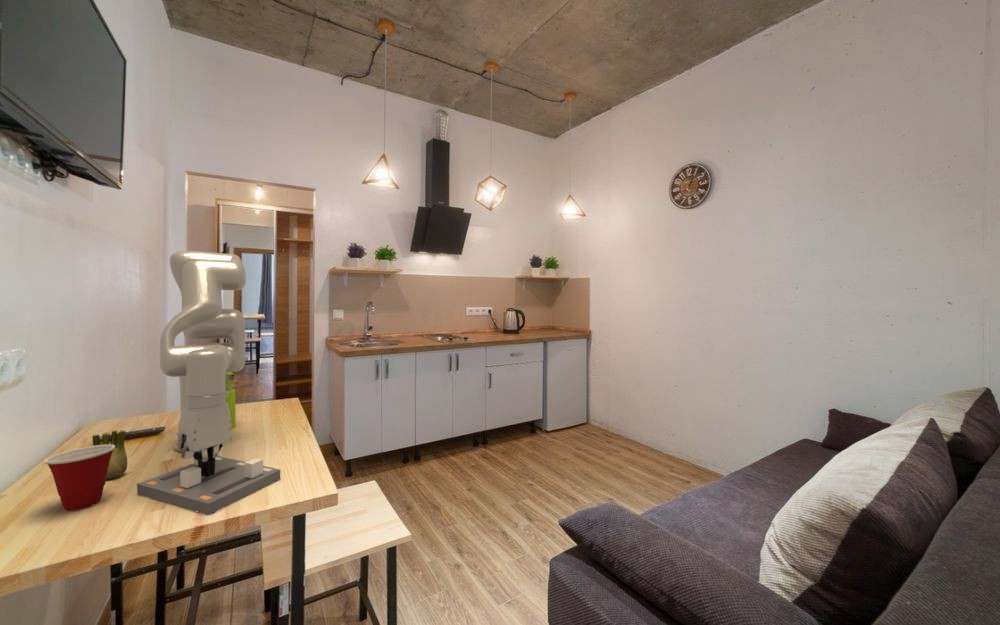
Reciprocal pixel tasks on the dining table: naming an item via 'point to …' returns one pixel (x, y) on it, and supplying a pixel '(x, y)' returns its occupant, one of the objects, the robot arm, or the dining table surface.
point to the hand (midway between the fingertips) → (206, 474)
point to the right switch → (253, 468)
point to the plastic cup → (80, 475)
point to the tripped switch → (190, 477)
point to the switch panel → (208, 486)
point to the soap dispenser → (230, 399)
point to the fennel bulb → (114, 452)
